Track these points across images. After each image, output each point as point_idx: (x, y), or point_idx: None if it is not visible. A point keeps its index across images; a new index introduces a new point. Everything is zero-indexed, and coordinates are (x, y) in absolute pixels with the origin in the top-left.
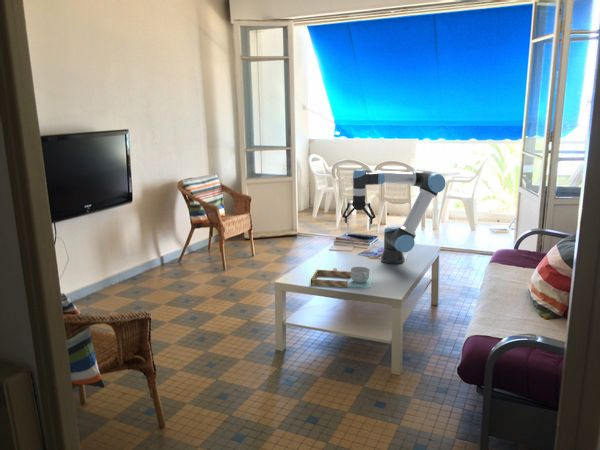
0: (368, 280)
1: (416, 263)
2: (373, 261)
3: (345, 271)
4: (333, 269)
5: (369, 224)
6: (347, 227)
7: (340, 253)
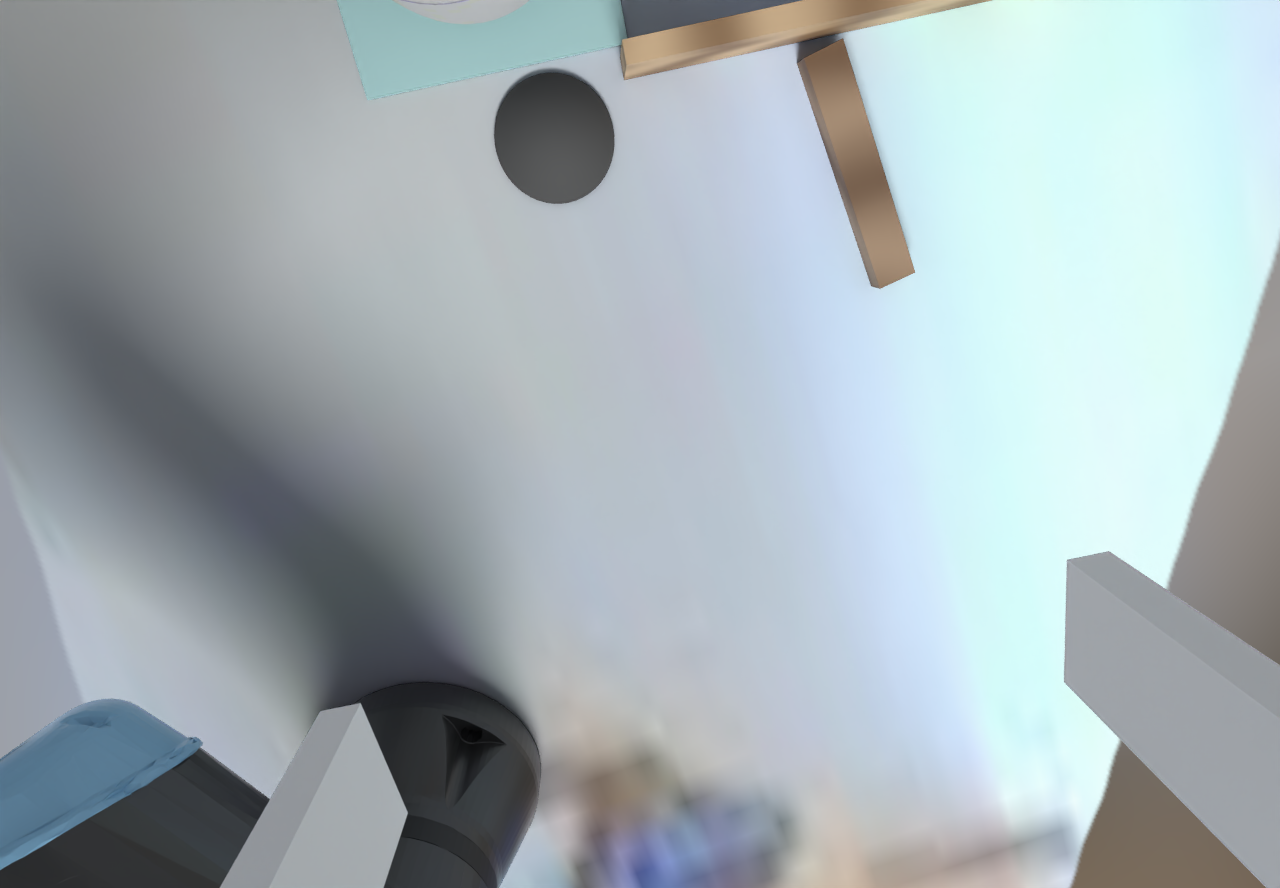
0: (383, 9)
1: None
2: (591, 690)
3: (709, 33)
4: (902, 241)
5: (250, 885)
6: (1123, 583)
7: (954, 787)
